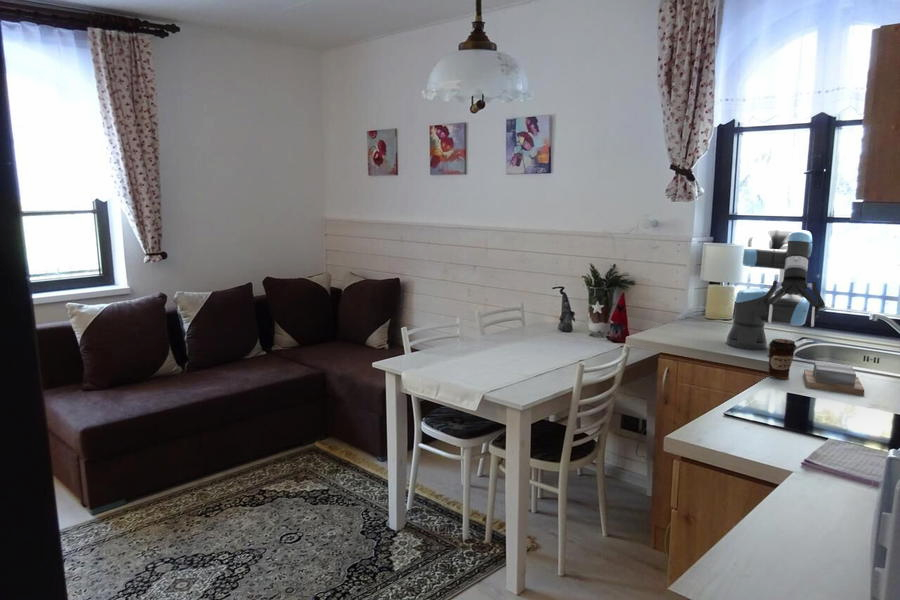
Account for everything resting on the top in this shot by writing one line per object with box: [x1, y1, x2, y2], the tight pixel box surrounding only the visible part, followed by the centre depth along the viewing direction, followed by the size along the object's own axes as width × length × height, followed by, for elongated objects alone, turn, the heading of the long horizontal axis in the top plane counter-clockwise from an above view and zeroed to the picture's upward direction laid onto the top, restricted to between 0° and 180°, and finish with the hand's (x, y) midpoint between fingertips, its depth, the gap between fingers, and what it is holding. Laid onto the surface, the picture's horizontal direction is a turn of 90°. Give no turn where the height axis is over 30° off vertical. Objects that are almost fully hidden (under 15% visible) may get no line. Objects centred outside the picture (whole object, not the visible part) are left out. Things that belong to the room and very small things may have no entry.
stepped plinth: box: [803, 360, 865, 397], centre depth 215 cm, size 16×16×6 cm
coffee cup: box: [768, 338, 797, 380], centre depth 221 cm, size 9×8×13 cm
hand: (790, 323), depth 231 cm, fingers open, 13 cm apart
